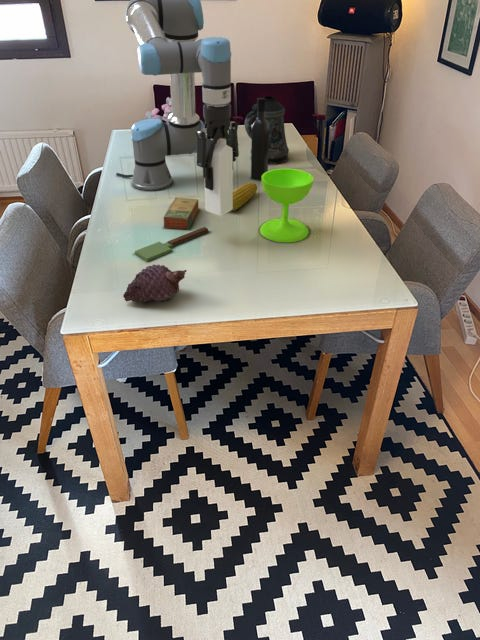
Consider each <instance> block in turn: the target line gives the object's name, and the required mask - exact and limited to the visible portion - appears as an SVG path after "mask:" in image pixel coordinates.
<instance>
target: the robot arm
mask: <svg viewBox="0 0 480 640" xmlns="http://www.w3.org/2000/svg"><path fill="white" fill-rule="evenodd" d="M125 20H126V23H127V26H128V27H129V29H130V31H131V32H132V33H133V34H134V35H135V36H136V37H135V38H137V41H138V43H139V45H138V47H137V59H138V66H139V71H140V73H141V74H142V75H144V76H160V75H161V76H164V75H169V84H170V85H169V86H170V87H169V88H170V98H171V106H172V113H171V114H170V115H169V116H168V122H163V120H161V119H157V118H156V119H154V118H151V119H147V118H144V119H145V120H143V119H141V120H139V121H137V122H135V123H134V124H133V125H132V126H131V128H130V130H131V131H130V132H131V137H130V138H131V141H132V148H133V149H132V150H133V159H134V168H133V173H132V174H124V173H120V172H116V173H115V175H116V176H119V177H122V178H132V179H131V182H132V186H133V187H134V189H137V190H141V191H151V192H152V191H160V190H164V189H166V188H168V187H170V186H171V185H172V184H173V177H172V175H171V172H170V170H169V167H168V164H167V161H166V157H168V156H181V155H192V154H196V166H197V167H200V168H201V169H202V177H203V179H204V178H205V181H204V189H205V188H207V189H209V190H213V168H212V167H210V165H211V161H212V157H213V152H214V148H215V144H217V140H218V139H220V138H223V139H226V145H228V146H229V147H231V148H232V153H233V162H236V160H237V158H238V157H239V155H240V153H239V152H240V151H239V140H238V139H239V138H238V129H239V123H238V122H236V121H233V120H230V119H231V118H232V105H231V101H232V86H231V85H232V84H231V83H232V78H231V77H232V73H231V72H232V66H231V65H232V52H231V50H232V49H231V42H230V40H229V39H228V38H226V37H221V36H210V37H204V38H199V31H202V30H203V29H204V25H205V23H204V22H205V20H204V13H203V6H202V2H201V0H129V2H128V3H127V5H126V8H125ZM198 38H199V39H198ZM195 73H196V74H198V73H201V83H202V84H201V85H202V88H201V89H202V90H201V91H202V103H204V104H203V105H202V113H203V114H202V115H203V119H204V122H203V121H202V119H200V118H201V117H200V116H199V115H198V114H197V113H196V83H195V79H196V78H195V77H196V76H195V75H196V74H195ZM211 139H213V140H211Z"/></svg>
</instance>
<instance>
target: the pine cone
mask: <svg viewBox="0 0 480 640" xmlns="http://www.w3.org/2000/svg"><path fill="white" fill-rule="evenodd" d="M186 272H187V269H184V270H174V271H172V270H171V269H169V267H167V266H165V265H164V264H162V265H161V264H155V263H154V264H152V265H149V266H146V267H145V268H142V269H141V271H140V272H138V273H136V274H135V277H134V279H133V280H132V281H131V282H130V283H128V284H127V287H126V290H125V292H124V293H123V296H122V297H123V299H124V301H125V302H130V301H131V302H133V303H135V302H137V303H139V302H144V303H145V302H149V301H150V302H152V300H154V301H156V302H161V301H166V300H169V299H170V298H173V297H174V295H176V294H178V292H179V291H180V282H181V281H182V280H184V279H185V278H186V277H185V276H186Z"/></svg>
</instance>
